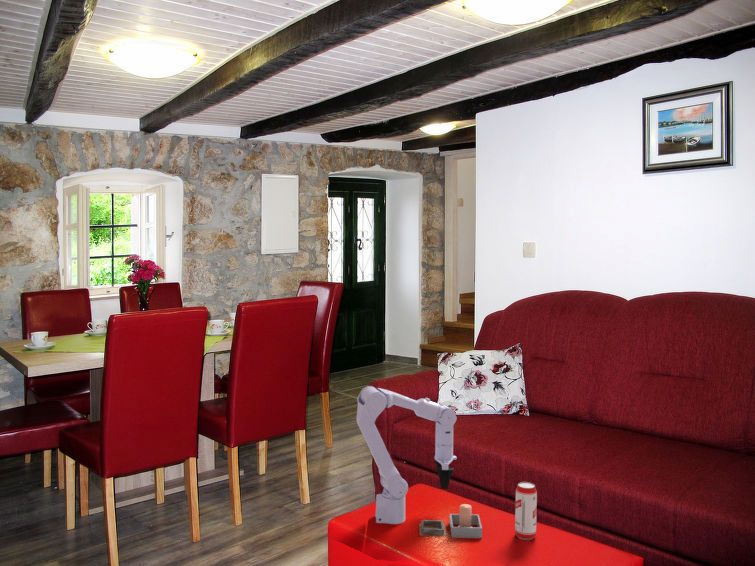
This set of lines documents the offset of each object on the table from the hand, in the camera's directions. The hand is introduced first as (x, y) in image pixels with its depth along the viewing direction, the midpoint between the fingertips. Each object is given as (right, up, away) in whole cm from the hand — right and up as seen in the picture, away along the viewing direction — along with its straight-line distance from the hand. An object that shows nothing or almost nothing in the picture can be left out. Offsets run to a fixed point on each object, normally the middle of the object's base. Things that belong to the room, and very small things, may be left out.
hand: (443, 484), depth 217 cm
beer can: (+23, -12, -14) cm, 30 cm away
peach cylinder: (+5, -11, -13) cm, 17 cm away
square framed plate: (-5, -11, -12) cm, 17 cm away
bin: (+5, -11, -13) cm, 18 cm away
